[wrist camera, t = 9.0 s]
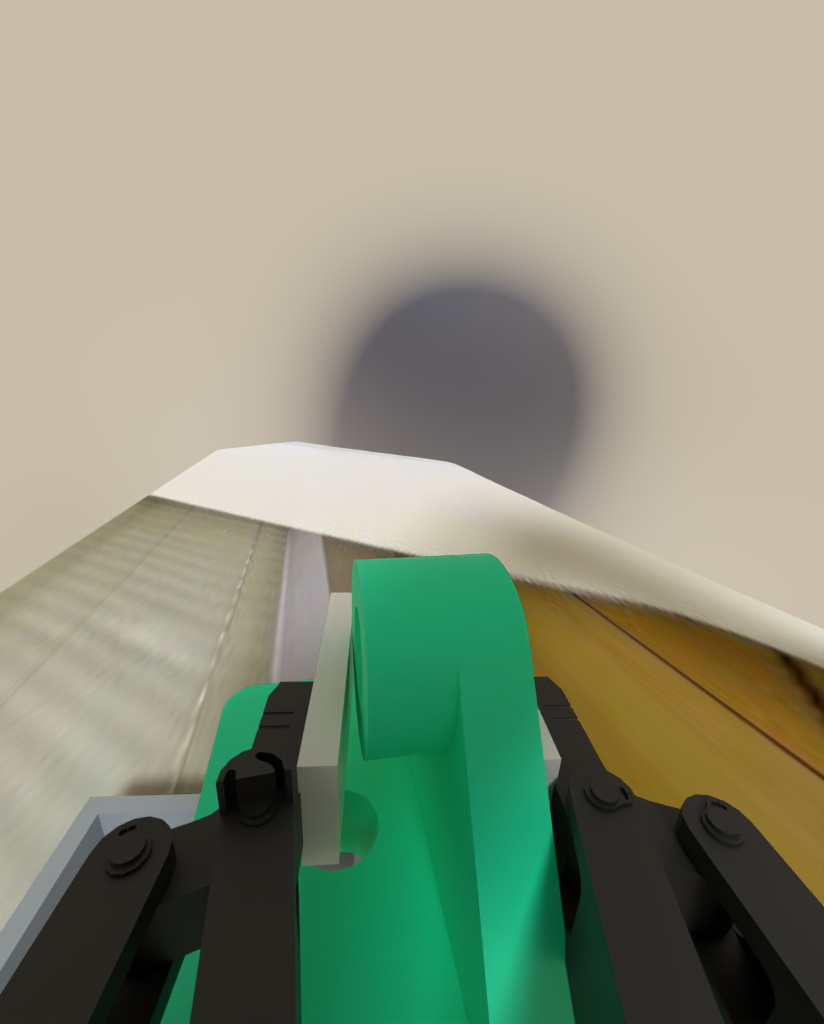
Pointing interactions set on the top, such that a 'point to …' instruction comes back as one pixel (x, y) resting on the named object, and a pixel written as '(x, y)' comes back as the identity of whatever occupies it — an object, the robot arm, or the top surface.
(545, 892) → the camera mount
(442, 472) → the top surface
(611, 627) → the top surface
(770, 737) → the top surface
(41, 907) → the tray
